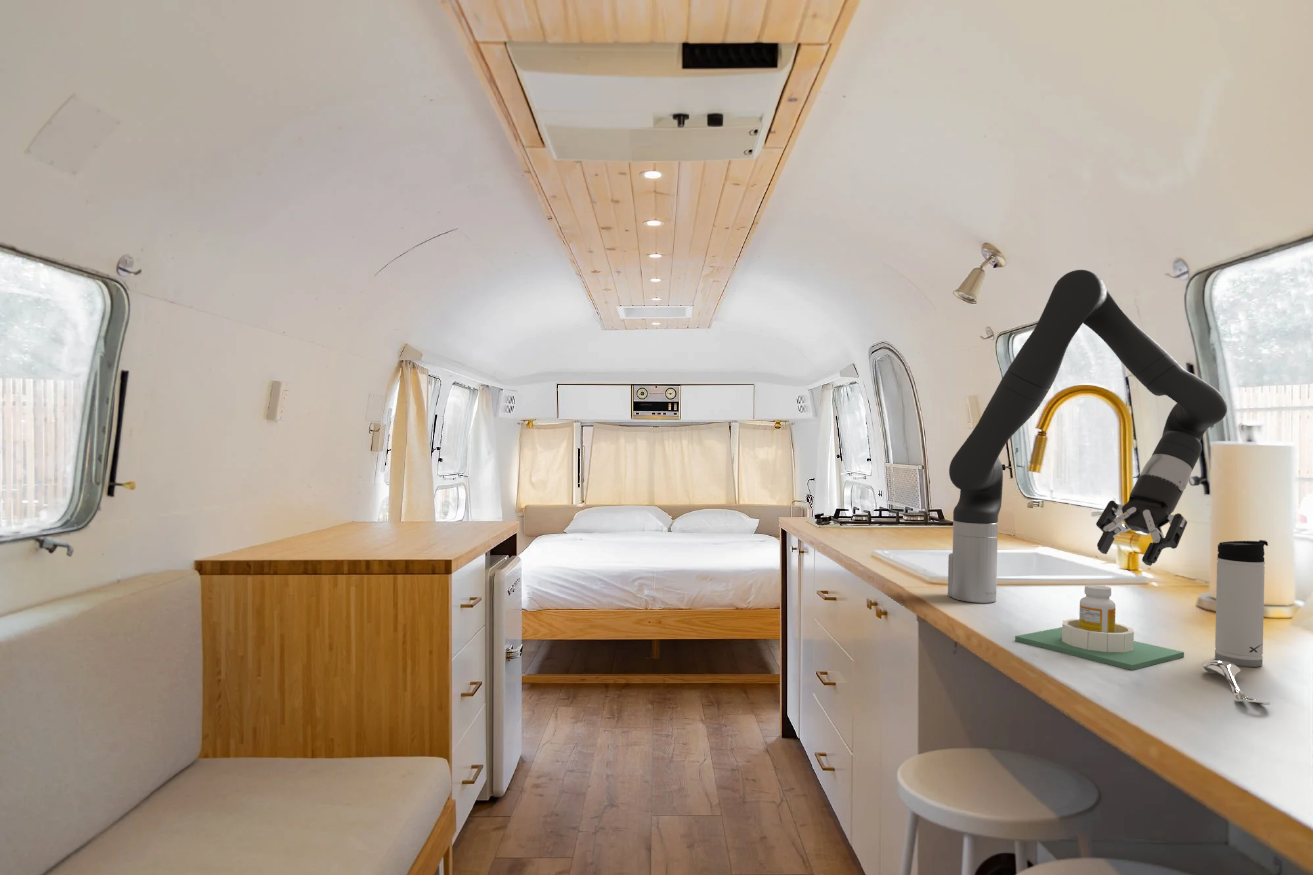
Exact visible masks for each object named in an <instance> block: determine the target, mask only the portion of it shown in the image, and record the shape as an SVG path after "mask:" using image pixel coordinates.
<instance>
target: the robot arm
mask: <svg viewBox="0 0 1313 875" xmlns="http://www.w3.org/2000/svg"><path fill="white" fill-rule="evenodd" d="M1083 324H1084V325H1085V326H1086V327H1088V328H1089V329H1090V330H1092V331H1093V332H1094V333H1095V334H1096V335H1097V336H1098V337H1099V338H1100V339H1101V340H1103V341H1104V342H1105V343H1106V345H1107V346H1108V347H1109V349H1111V351H1112V352H1113V353H1114V354H1115V355H1116V357H1117V358H1118V359H1119V361H1120V362H1121V363H1122V364H1123V365H1124V366H1125V367H1126V369H1127V370H1128V371H1129V372H1130V373H1131V374H1132V376H1134V378H1136V379H1137V381H1138V382H1140V383H1141V384H1142V385H1143V386H1144V387H1145V388H1146V389H1147V391H1149V392H1150V393H1151V394H1152V395H1154V396H1158V397H1161V396H1167V397H1168V398H1170V399H1171V400H1172V401H1174V402H1175V403H1176V404H1175V405H1174V406H1173V407H1172V409H1171V410H1170V412H1169V414H1168V415H1167V418H1166V420H1165V425H1164V427H1163V431H1162V436H1161V438H1160V439H1159V440H1158V443H1157V445H1156V446H1155V448H1154V450H1153V452H1152V454H1151V457H1150V458H1149V460H1147V462H1146V464H1145V465H1144V467H1142V468H1143V469H1142V470H1141V472H1140V474H1139V476H1138V478H1137V479H1136V482H1135V484H1134V485H1133V487H1132V489H1131V491H1130V493H1129V498H1128V501H1127V502H1126V503H1125V504H1119V503H1117V502H1116V501H1115V500H1110V501H1108V503H1107V505H1106V507H1105V508H1104V510H1103V511H1102V513H1101V515H1100V516H1099V518H1098V520H1097V521H1096V523H1095V525H1096V527H1097V528H1099V530H1100V531H1102V534H1101V536H1100V538H1099V539H1098V542H1097V545H1096V547H1097V550H1098V551H1099V552H1100V554H1104V555H1107V554H1108V552H1109V550H1110V549H1111V547H1112V545H1113V543H1114V541H1115V537H1117V536H1118V535H1120V534H1122V533H1126V532H1128V531H1130V530H1131V531H1134V532H1141V533H1144V534H1147V535H1148V534H1150V536H1151V539H1152V542H1149V544H1148V546H1147V548H1146V549H1145V551H1144V554H1143V556H1142V558H1141V561H1142V563H1143V564H1145V565H1146V566H1148V567H1151V566H1152V565H1153V564H1156V562H1157V561H1158V559H1159V558H1160V555H1161V553H1162V551H1163V550H1165V549H1168V548H1171V549H1174V550H1175V549H1177V547H1178V546H1179V543H1180V541H1181V540H1182V536H1183V534H1184V532H1185V530H1186V527H1187V524H1188V521H1187V520H1186V518H1185V517H1184V516H1183V515H1182V514H1181V513H1178V512H1177V513H1175V514H1173V513H1174V511H1175V509H1176V508H1177V505H1178V503H1179V501H1180V499H1181V497H1182V496H1183V494H1184V491H1185V489H1187V485H1188V483H1189V481H1190V478H1191V474H1192V472H1193V470H1194V469H1195V466H1196V464H1197V462H1198V460H1199V458H1200V456H1201V454H1202V451H1203V445H1202V442H1201V441H1202V438H1203V436H1204V435H1205V433H1206V431H1207V430H1208V429H1209V428H1211V427H1212V426H1214V425H1216V424H1218V423H1219V422H1221V421H1222V420H1223V419H1224V418H1225V416H1226V414H1227V412H1228V404H1227V401H1226V400H1225V398H1224V396H1223V395H1222V393H1221V392H1219V390H1217V388H1216V387H1214V386H1212V385H1211V384H1209V383H1208V382H1206V381H1205V380H1203V379H1201V377H1198V376H1197V375H1195V374H1194V373H1192V372H1190V371H1187V370H1186V369H1184V368H1183V366H1182V365H1180V363H1178V362H1177V360H1175V358H1174V357H1172V355H1170V353H1168V351H1166V349H1164V348H1163V347H1162V346H1161V345H1160V344H1159V343H1158V342H1156V341H1155V340H1154V339H1153V338H1152V337H1151V336H1150V335H1148V334H1147V332H1145V331H1144V330H1143V329H1142V328H1140V326H1138V325H1137V324H1136V323H1135V322H1134V321H1133V320H1132V319H1131V318H1130V317H1129V316H1128V315H1127V313H1126V312H1124V311H1123V309H1122V308H1121V307H1120V306H1119V304H1118V303H1117V302H1116V300H1115V298H1114V297H1113V296H1112V295H1111V294H1110V292H1109V290H1108V289H1107V286H1106V284H1105V282H1104V281H1103V280H1102V278H1100V277H1099V276H1098V275H1097V274H1095V273H1094V272H1092V271H1090V270H1087V269H1074V270H1072V271H1069V272H1067V273H1065V274H1063V276H1061V277H1060V278H1059V279H1058V280H1057V281H1056V283H1055V285H1054V286H1053V288H1052V291H1051V293H1050V294H1049V297H1048V299H1047V303H1046V304H1045V306H1044V309H1043V311H1042V313H1041V315H1040V317H1039V319H1038V322H1037V324H1036V325H1035V327H1034V329H1033V330H1032V332H1031V334H1030V335H1029V336H1028V337H1027V339H1026V340H1025V342H1024V343H1023V345H1022V346H1021V348H1020V350H1019V351H1018V352H1017V354H1016V355H1015V357H1014V359H1013V361H1012V362H1011V364H1010V365H1009V367H1008V368H1007V370H1006V371H1005V374H1004V375H1003V376H1002V378H1001V380H1000V381H999V383H998V385H997V387H996V389H995V391H994V393H993V395H992V397H990V399H989V402H988V403H987V405H986V407H985V409H984V411H983V413H982V414H981V416H980V419H979V420H978V423H977V424H976V425H975V427H974V429H973V430H972V431H971V432H970V434H969V436H968V437H967V438H966V439H965V441H964V442H963V443H962V444H961V446H960V448H959V449H958V450H957V451H956V453H955V454H954V456H953V457H952V459H951V461H950V463H949V468H948V469H949V470H948V473H949V478H950V482H951V483H952V484H953V485H954V487H956V488H957V489H958V490H959V492H960V493H959V499H958V502H957V504H956V505H955V507H953V512H952V513H953V514H952V516H953V517H952V520H953V522H952V552H951V553H949V554H948V560H947V561H948V563H947V564H948V567H947V568H948V569H947V571H948V572H947V573H948V574H947V575H948V576H947V597H951V598H952V599H954V600H958V601H962V602H967V603H984V604H985V603H986V604H987V603H988V604H989V603H994V602H996V601H997V581H998V580H997V578H998V532H999V531H998V529H999V528H998V525H999V515H1000V512H1001V508H1002V501H1003V485H1004V484H1003V482H1004V471H1003V465H1002V462H1001V460H1000V459H999V457H1000V455H1001V452H1002V451H1003V449H1004V448H1005V446H1006V444H1007V443H1008V441H1009V440H1010V439H1011V438H1012V437H1013V436H1014V434H1016V432H1017V431H1018V430H1019V429H1020V428H1022V427H1023V425H1025V423H1026V422H1027V421H1028V420H1029V419H1030V418H1032V416H1033V415H1034V414H1035V413H1036V411H1037V410H1038V409H1039V407H1040V406H1041V404H1042V402H1043V400H1045V398H1046V396H1047V394H1048V393H1049V391H1050V390H1051V387H1052V386H1053V384H1054V382H1055V380H1056V378H1057V376H1058V373H1059V371H1060V368H1061V366H1062V362H1063V360H1064V357H1065V355H1066V351H1067V350H1068V347H1069V345H1070V343H1071V341H1072V339H1073V338H1074V336H1076V334H1077V332H1078V331H1079V329H1080V328H1081V326H1082V325H1083ZM1121 513H1122V514H1121ZM1123 523H1125V524H1123ZM1167 524H1169V527H1168V528H1167V532H1166V534H1165V536H1164V532H1163V530H1162V529H1163V528H1162V527H1164V526H1165V525H1167Z"/></svg>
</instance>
